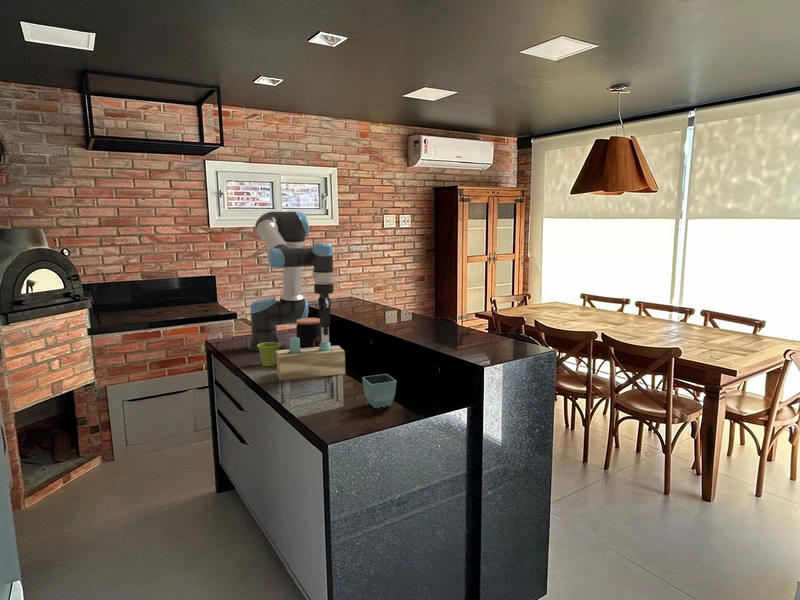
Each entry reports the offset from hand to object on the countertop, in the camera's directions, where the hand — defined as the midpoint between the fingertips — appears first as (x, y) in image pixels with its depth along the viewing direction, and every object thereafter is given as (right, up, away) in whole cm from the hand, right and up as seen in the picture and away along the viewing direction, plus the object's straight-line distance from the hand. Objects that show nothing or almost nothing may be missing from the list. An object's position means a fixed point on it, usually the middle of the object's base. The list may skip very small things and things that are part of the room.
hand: (325, 342), depth 202 cm
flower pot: (+23, -17, -37) cm, 47 cm away
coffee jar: (-9, -10, +18) cm, 23 cm away
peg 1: (-11, -7, -3) cm, 14 cm away
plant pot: (-25, -11, +13) cm, 30 cm away
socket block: (-6, -12, 0) cm, 13 cm away
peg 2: (0, -9, +1) cm, 9 cm away
